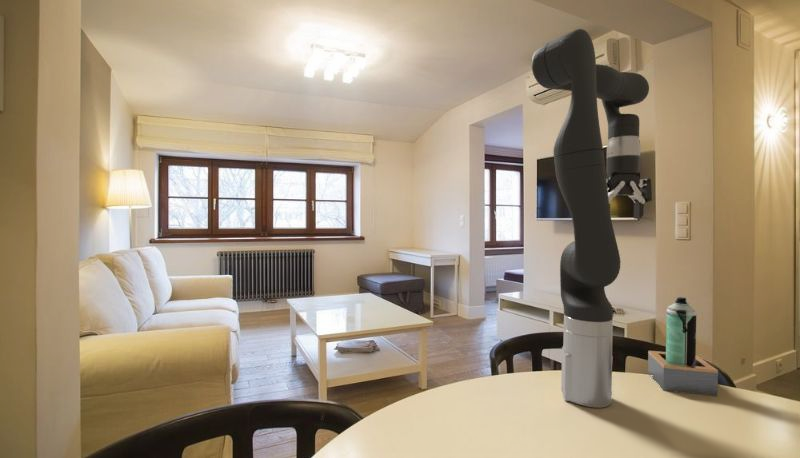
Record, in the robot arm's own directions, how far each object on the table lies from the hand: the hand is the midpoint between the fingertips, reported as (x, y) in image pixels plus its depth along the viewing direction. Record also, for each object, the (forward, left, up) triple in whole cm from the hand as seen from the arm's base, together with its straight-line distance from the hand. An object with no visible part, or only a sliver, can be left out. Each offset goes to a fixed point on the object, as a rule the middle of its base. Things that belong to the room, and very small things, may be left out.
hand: (622, 218), depth 99 cm
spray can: (+10, -10, -38) cm, 41 cm away
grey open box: (+10, -10, -38) cm, 41 cm away
